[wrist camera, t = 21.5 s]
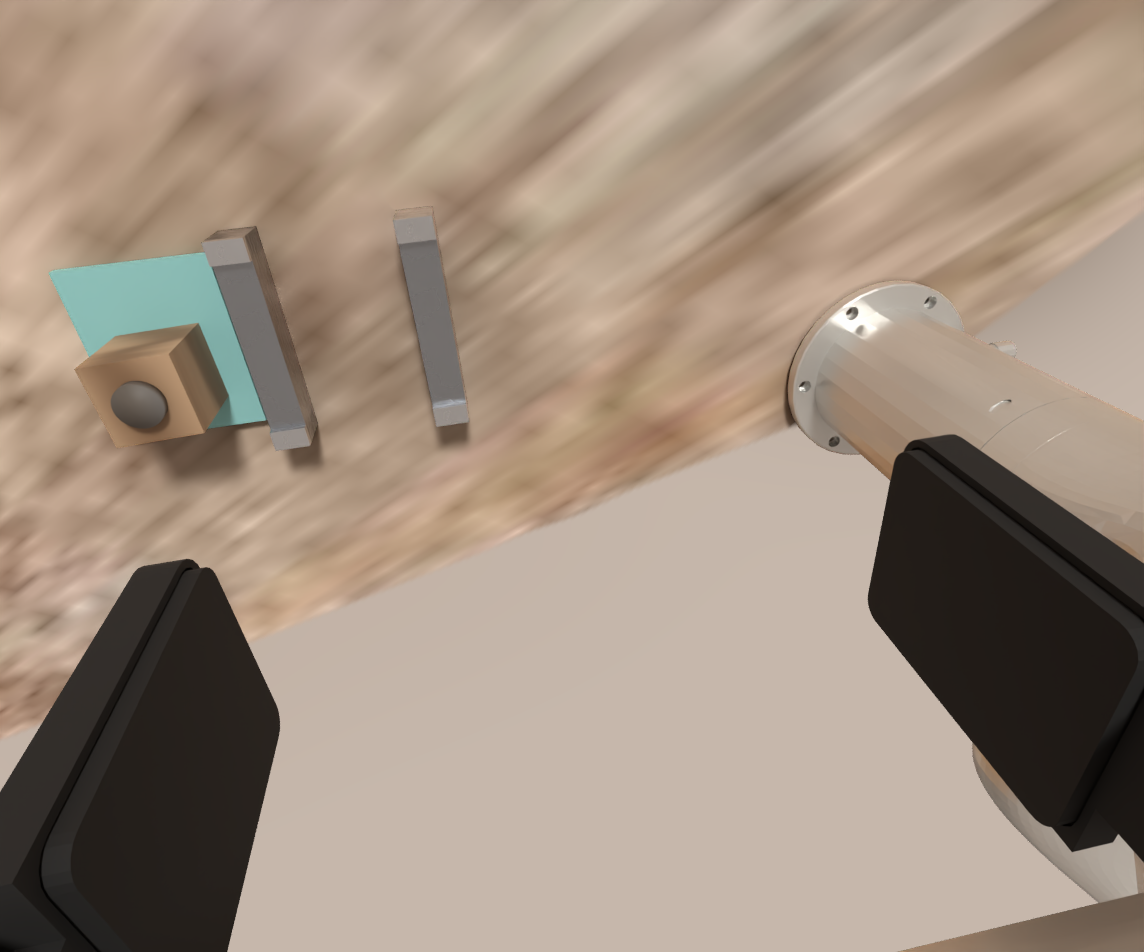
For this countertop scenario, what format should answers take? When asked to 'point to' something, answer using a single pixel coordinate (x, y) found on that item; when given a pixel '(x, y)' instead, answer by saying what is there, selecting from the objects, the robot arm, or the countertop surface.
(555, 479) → the countertop surface
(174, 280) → the pad
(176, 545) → the countertop surface
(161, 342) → the wooden knob block
